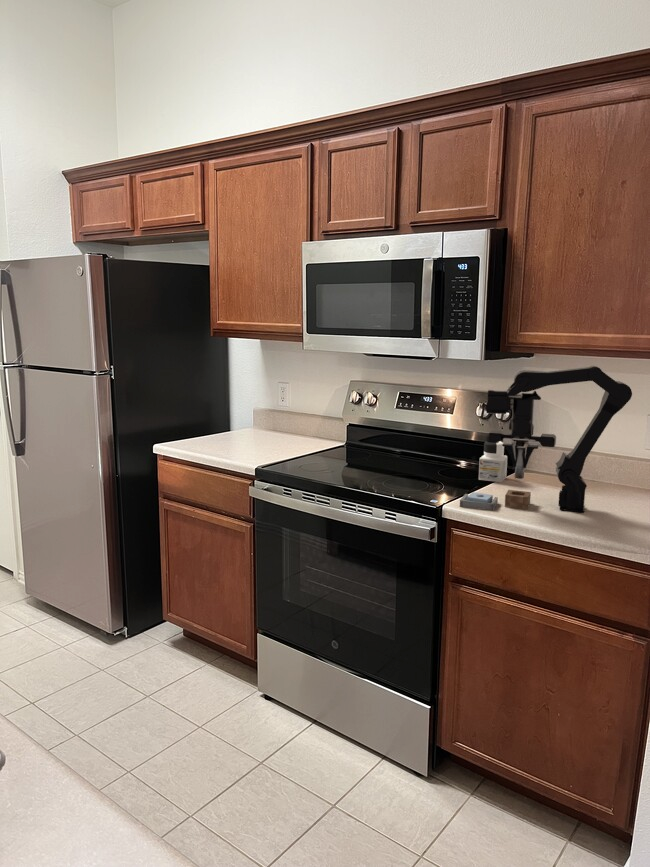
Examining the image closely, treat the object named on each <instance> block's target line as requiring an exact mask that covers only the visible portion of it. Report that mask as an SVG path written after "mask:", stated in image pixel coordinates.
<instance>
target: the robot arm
mask: <svg viewBox="0 0 650 867" xmlns="http://www.w3.org/2000/svg"><path fill="white" fill-rule="evenodd" d="M584 382H593V383H594V384H596V385H597V386H598V387H599V388H601V389H602V390H604V392H603V395H602V398H601V401H600V404H599V408H598V410H597V411H596V413H594V416H593V417H592V419H591V421H590V422H589V423H588V426H587V427H586V429H585V430H584V432H583V433H582V435H581V436H580V438H579V440H578V441H577V443H576V444H575V446H574V448H573V449H572V450H571V451H570V452H569V453H567V454H566V453H565V452H562V453H561V456H560V459H559V460H557V461H556V462H555V465H556V467H555V472H556V476H557V479H558V481H559V482H560V483H562V485H561V490H559V493H558V507H559V510H560V511H567V512H568V511H569V512H577V513H584V512H585V506H586V504H585V502H586V501H585V500H586V499H585V498H586V489H587V486H588V485H587V484H586V481H585V480H584V478H583V477H582V476H581V474H582V472H583V470H584V466H585V462H586V459H587V457H588V456H589V454H590V452H591V450H592V449H593V448H594V446H595V444H596V443H597V442H598V440H599V438H600V437H601V436H602V433H603V432H604V431H605V429H606V427H608V425H609V423H610V421H611V420H612V418H613V417H614V416H615V415H616V414H617V413H619V411H621V410H622V409H623V408H624V407H625V406H626V404H628V402H630V400H631V399H632V396H633V392H632V389H631V387H630V386H629V385H628V384H626V383H624V382H623V381H620V380H614V379H613V378H612V377H610V376H609V375H608V374H606V373H605V372H604V371H603V370H602V369H601V368H600V367H598V366H596V365H590V366H587V367H578V368H577V367H576V368H571V369H569V368H568V369H567V368H566V369H561V370H560V369H559V370H551V371H542V370H529V369H528V370H526V369H524V370H520V371H517V373H516V374H515V375H514V376H513V382H512V384H511V385H510V386H508V388H507V389H506V390H494V389H488V390H487V399H486V412H485V413H486V414H491V415H495V414H496V415H507V412H509V411H511V405H512V414H511V415H512V416H511V419H509V421H508V422H509V424H508V429H509V431H511V433H510V434H509V433H506V434H505V432H504V430H494V429H492V430H491V431H489V432H488V433H487V437H486V441H487V442H489V443H498V442H499V441H501V442H503V444H502V446H504V448H506V450H507V452H508V455H509V456H510V460H511V463H512V467H513V468H515V462H516V442H521V443H522V442H524V443H528V444H527V446H526V449H525V462H524V469H526V468H527V466H528V463H529V460H530V459H531V456H532V454H533V452H534V450H537V449H539V447H540V445H541V446H542V447H547V448H555V446H556V444H557V436H556V434H554V433H553V434H552V433H541V435H540V436H538V435H537V436H536V435H534V427H535V426H534V422H533V421H534V406H535V403H534V402H535V401H540V400H542V397H541V395H539V394H538V392H537V391H536V390H539V389H541V388H545V387H548V386H555V385H556V386H557V385H566V384H573V383H584ZM532 391H533V392H532ZM530 392H531V393H530ZM519 394H521V395H519ZM511 400H512V404H511Z"/></svg>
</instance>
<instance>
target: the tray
mask: <svg viewBox="0 0 650 867" xmlns="http://www.w3.org/2000/svg"><path fill="white" fill-rule="evenodd" d="M467 496H469V494H468V493H465V494H463V496H462V497H461V498H460V499H459V507H461V506H463V507H462V508H469V507H470V508H471V509H478V508H480V510H486V509H488V510H487V511H489V510H490V511H494V510H495V508H496V506H497V505H498V503H499V502H498V501H499V500H498V499H499V498H498V497H497V496H494V497H493V501H492V502H491V503H485V502H476V501H467ZM493 509H494V510H493Z"/></svg>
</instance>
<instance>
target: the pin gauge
mask: <svg viewBox="0 0 650 867" xmlns="http://www.w3.org/2000/svg"><path fill="white" fill-rule="evenodd" d="M526 450H527V447H525V446H515V455H516V462H515V467H514V478H515V479H521V480H522V479H524V478H525V468H524V462H525V456H526Z"/></svg>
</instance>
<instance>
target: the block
mask: <svg viewBox="0 0 650 867" xmlns="http://www.w3.org/2000/svg"><path fill="white" fill-rule="evenodd" d="M493 499H494V495H493V494H489V493H482V492H475V491H473V492H471V493H470V494H468V496H467V501H476V502H485V503H491V502H492V501H493Z"/></svg>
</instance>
